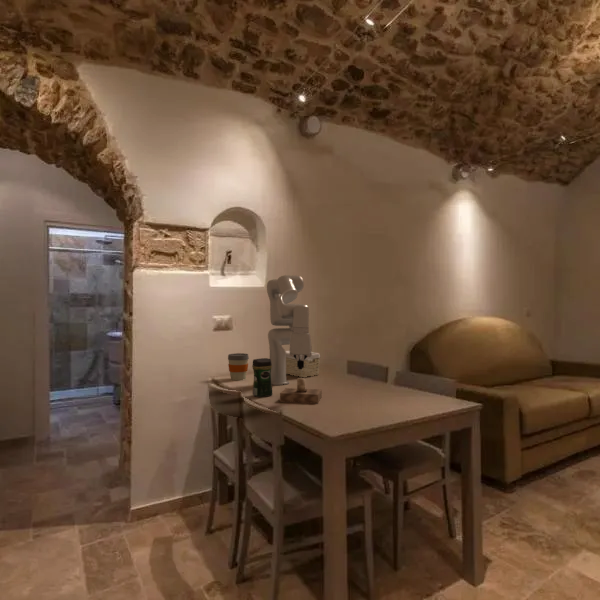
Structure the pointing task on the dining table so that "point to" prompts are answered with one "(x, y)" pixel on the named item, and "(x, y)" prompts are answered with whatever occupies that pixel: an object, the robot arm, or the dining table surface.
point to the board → (301, 395)
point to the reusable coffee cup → (238, 365)
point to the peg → (301, 385)
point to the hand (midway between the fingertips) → (300, 368)
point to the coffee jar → (262, 377)
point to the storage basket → (309, 365)
